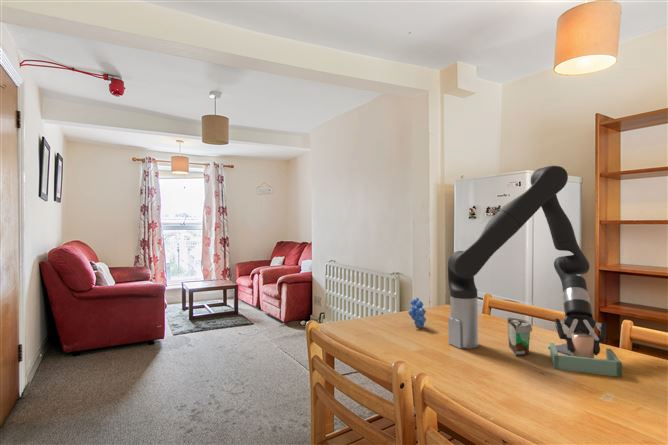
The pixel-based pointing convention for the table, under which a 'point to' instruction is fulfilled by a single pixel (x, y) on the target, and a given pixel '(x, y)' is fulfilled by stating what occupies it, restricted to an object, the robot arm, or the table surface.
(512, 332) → the food container
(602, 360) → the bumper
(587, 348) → the brown cylinder
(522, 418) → the table surface
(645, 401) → the table surface
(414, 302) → the grapes
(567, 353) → the mat
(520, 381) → the table surface
